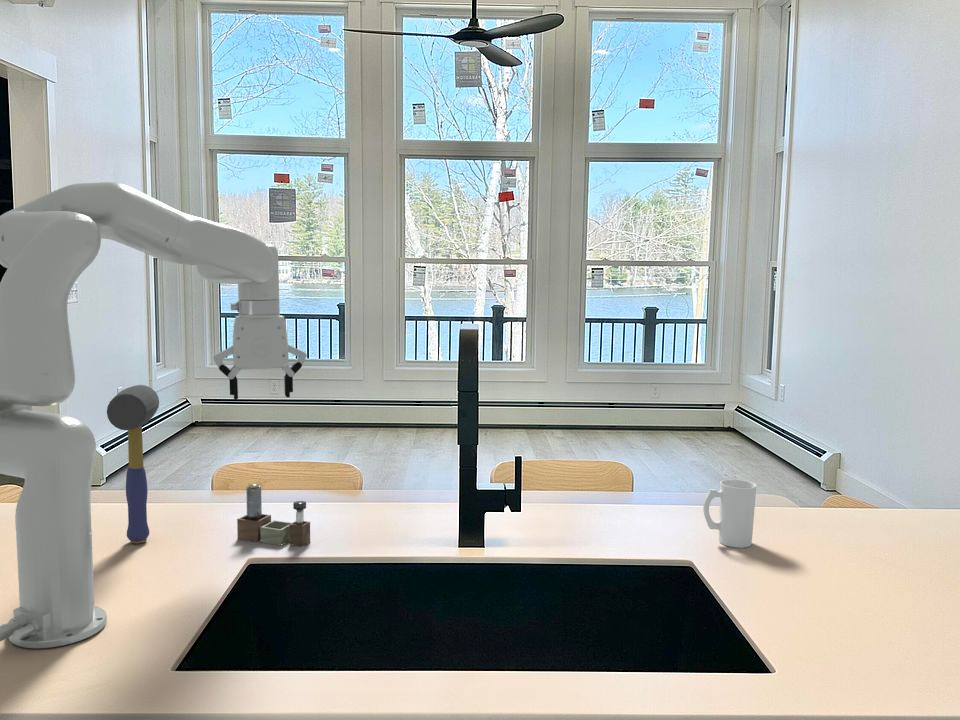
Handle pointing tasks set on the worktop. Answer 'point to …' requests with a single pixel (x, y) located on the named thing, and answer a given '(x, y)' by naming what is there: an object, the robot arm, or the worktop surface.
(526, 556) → the worktop surface
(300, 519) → the round dark gray knob
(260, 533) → the compartment holder
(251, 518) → the gray yellow-capped cylinder
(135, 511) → the rubber mallet
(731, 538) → the mug
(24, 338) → the robot arm
